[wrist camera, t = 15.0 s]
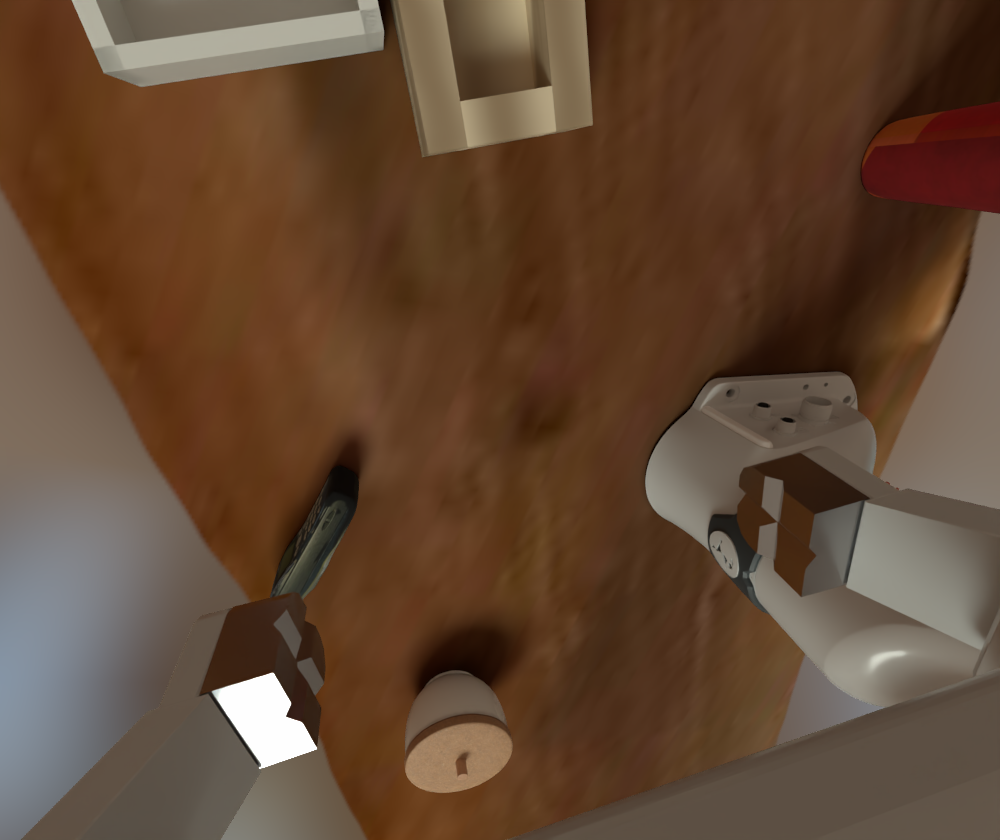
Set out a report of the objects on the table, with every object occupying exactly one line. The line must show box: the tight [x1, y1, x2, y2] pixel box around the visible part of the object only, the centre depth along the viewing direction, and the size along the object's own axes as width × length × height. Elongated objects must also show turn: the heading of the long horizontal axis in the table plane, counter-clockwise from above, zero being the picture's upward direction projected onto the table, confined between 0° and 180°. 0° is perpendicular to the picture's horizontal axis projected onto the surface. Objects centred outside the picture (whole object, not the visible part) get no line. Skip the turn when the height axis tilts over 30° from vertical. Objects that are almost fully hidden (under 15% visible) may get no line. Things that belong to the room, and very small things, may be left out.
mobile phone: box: [270, 466, 359, 600], centre depth 42 cm, size 5×3×15 cm
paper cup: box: [861, 102, 1000, 213], centre depth 34 cm, size 8×8×14 cm
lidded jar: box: [405, 670, 513, 793], centre depth 52 cm, size 11×11×9 cm
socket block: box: [390, 0, 593, 157], centre depth 30 cm, size 10×10×5 cm
